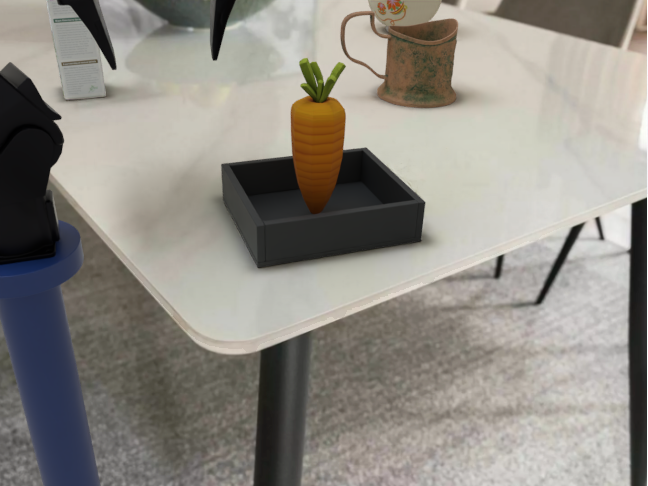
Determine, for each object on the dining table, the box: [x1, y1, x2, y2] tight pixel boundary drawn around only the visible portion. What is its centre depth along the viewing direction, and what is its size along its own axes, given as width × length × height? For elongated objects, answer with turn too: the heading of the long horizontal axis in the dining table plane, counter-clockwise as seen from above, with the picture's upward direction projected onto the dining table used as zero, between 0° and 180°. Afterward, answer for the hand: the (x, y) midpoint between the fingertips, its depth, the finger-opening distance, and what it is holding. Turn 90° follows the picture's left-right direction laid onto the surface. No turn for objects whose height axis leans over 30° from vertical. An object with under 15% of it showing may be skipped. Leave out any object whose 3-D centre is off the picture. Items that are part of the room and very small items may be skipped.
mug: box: [339, 10, 459, 109], centre depth 96 cm, size 12×18×12 cm, turn 104°
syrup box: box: [45, 0, 107, 101], centre depth 93 cm, size 6×6×14 cm
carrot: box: [290, 57, 347, 214], centre depth 61 cm, size 5×5×15 cm
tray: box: [220, 147, 426, 268], centre depth 64 cm, size 15×13×4 cm
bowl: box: [367, 0, 443, 33], centre depth 133 cm, size 16×16×10 cm
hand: (165, 64), depth 63 cm, fingers open, 9 cm apart
